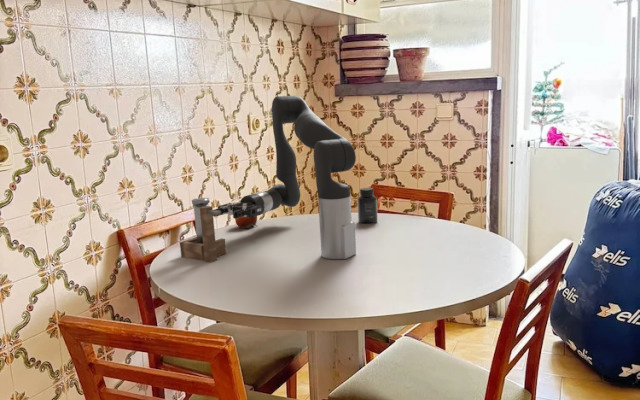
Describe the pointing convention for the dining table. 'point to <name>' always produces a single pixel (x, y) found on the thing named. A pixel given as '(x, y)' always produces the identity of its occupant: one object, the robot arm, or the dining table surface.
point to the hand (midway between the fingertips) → (223, 214)
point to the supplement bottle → (367, 206)
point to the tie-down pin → (197, 204)
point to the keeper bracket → (205, 239)
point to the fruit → (246, 222)
